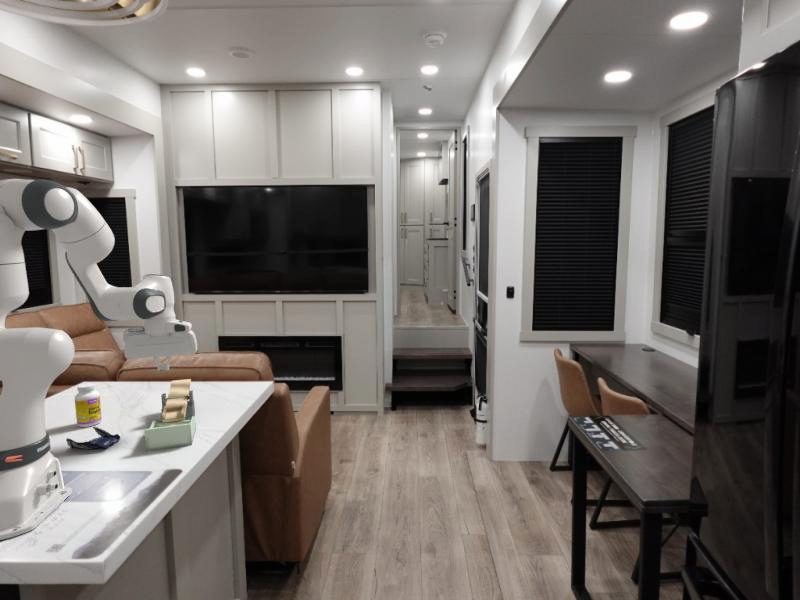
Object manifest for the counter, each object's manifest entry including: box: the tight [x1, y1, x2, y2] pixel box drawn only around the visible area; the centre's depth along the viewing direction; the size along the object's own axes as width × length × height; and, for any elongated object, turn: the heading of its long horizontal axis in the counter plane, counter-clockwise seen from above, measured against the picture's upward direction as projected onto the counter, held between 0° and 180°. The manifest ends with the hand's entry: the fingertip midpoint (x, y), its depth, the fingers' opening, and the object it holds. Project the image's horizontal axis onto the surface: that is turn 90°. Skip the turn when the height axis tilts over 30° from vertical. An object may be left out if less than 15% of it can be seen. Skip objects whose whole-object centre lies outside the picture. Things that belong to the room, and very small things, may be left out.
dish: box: [143, 415, 197, 452], centre depth 135 cm, size 13×12×6 cm
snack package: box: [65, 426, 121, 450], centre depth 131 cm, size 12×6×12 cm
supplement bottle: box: [74, 382, 103, 428], centre depth 148 cm, size 7×7×13 cm
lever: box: [161, 378, 192, 422], centre depth 150 cm, size 24×7×5 cm, turn 19°
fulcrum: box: [161, 389, 196, 423], centre depth 150 cm, size 6×9×9 cm, turn 109°
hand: (163, 370), depth 144 cm, fingers closed
